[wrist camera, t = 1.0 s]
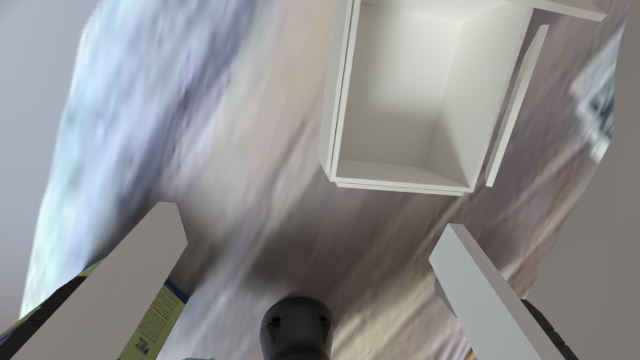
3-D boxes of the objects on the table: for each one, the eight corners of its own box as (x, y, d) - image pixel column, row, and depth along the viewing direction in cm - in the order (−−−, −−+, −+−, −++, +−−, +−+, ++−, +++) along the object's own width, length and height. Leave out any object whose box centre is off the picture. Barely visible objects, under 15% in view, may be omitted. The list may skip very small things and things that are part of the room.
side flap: (490, 172, 28) (492, 187, 21) (485, 171, 29) (485, 185, 21) (530, 55, 25) (549, 24, 17) (524, 55, 25) (540, 25, 18)
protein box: (127, 240, 39) (28, 320, 25) (190, 298, 44) (140, 393, 29) (79, 271, 40) (-45, 367, 25) (147, 324, 45) (76, 431, 30)
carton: (422, 172, 42) (471, 197, 30) (314, 162, 39) (324, 186, 28) (461, 21, 35) (543, -19, 24) (333, -4, 32) (356, -65, 21)
